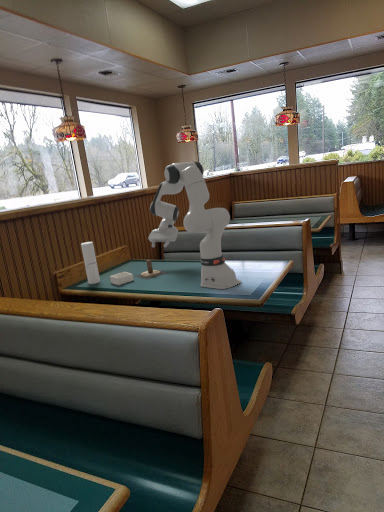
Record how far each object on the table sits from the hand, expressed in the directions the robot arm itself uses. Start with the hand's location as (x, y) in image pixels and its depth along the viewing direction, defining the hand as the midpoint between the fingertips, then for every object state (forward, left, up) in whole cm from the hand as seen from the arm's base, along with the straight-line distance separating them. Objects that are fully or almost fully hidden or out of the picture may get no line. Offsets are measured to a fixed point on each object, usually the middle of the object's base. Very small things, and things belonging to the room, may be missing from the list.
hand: (158, 246), depth 243 cm
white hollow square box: (0, +29, -15) cm, 33 cm away
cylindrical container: (+18, +39, -15) cm, 46 cm away
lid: (-4, +11, -15) cm, 19 cm away
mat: (-4, +11, -15) cm, 19 cm away
